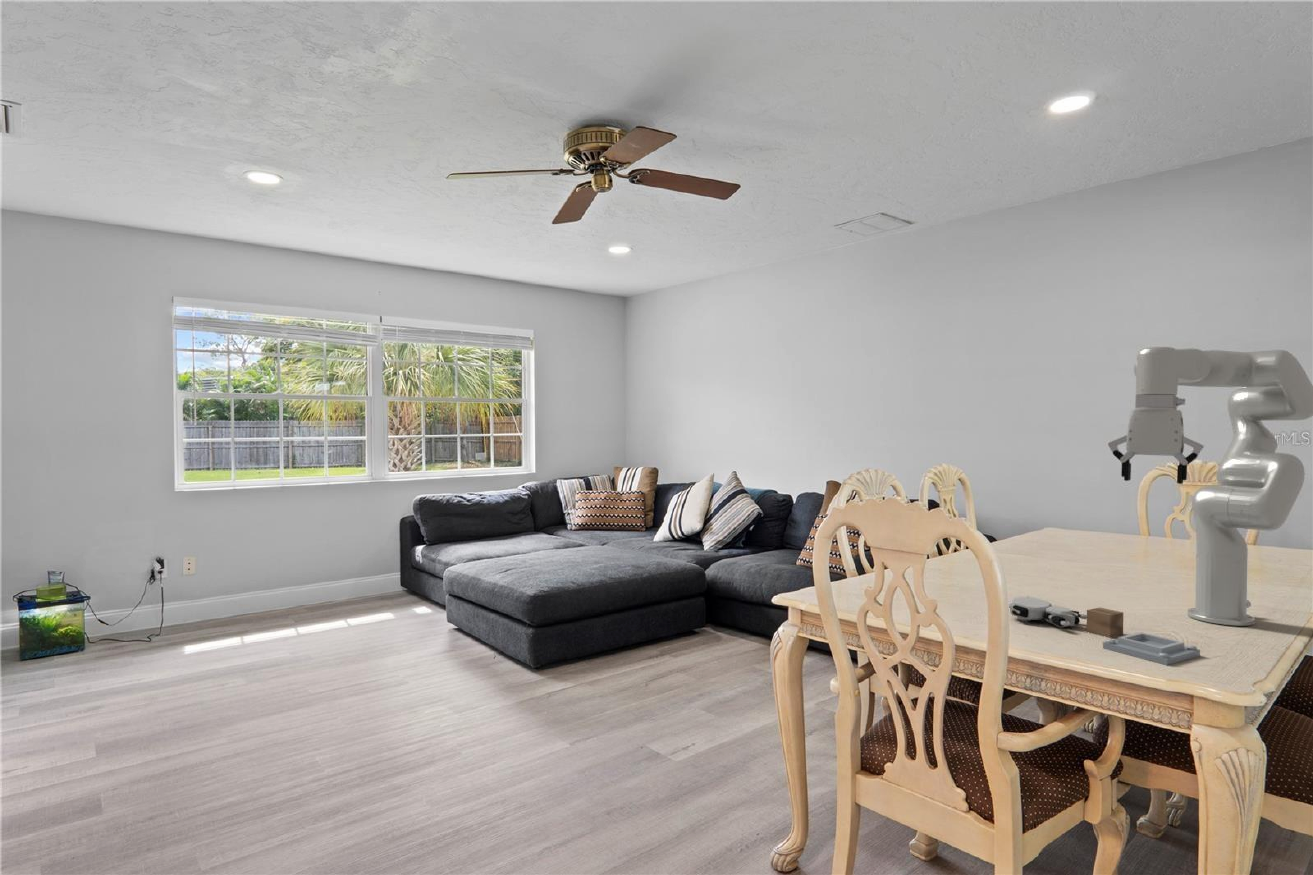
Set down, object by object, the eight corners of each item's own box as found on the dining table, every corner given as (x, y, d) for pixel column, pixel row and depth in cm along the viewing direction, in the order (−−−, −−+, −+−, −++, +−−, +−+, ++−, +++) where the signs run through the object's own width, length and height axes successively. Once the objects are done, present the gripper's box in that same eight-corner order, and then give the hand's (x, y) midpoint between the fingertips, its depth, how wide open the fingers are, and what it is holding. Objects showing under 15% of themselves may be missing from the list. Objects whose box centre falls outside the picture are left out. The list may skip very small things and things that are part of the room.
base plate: (1136, 639, 154) (1136, 628, 154) (1199, 655, 143) (1200, 643, 143) (1102, 647, 148) (1103, 636, 148) (1166, 665, 138) (1167, 652, 138)
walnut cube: (1099, 629, 162) (1100, 607, 162) (1123, 635, 158) (1123, 612, 158) (1086, 632, 160) (1086, 610, 160) (1109, 638, 155) (1110, 615, 155)
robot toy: (1089, 628, 166) (1023, 610, 178) (1091, 609, 166) (1025, 592, 177) (1066, 638, 158) (998, 618, 170) (1068, 618, 158) (1000, 600, 170)
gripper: (1207, 404, 155) (1204, 484, 155) (1113, 405, 167) (1110, 479, 167) (1203, 402, 149) (1200, 485, 149) (1106, 403, 161) (1103, 479, 161)
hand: (1153, 482), depth 158 cm, fingers open, 9 cm apart
